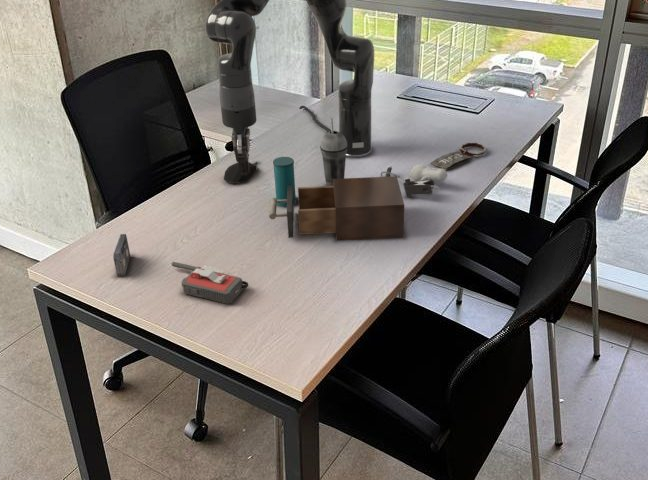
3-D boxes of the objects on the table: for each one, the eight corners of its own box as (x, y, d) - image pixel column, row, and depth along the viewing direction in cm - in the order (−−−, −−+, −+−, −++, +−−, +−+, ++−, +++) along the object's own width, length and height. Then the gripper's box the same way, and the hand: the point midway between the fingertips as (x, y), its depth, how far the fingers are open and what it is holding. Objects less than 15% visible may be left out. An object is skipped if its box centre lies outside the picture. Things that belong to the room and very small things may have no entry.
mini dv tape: (123, 256, 167) (119, 234, 164) (130, 256, 167) (125, 233, 164) (117, 276, 160) (112, 253, 157) (124, 276, 160) (119, 253, 157)
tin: (275, 207, 186) (272, 165, 180) (276, 197, 190) (273, 157, 184) (296, 206, 186) (293, 164, 180) (296, 196, 190) (293, 156, 184)
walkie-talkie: (254, 284, 156) (175, 266, 163) (252, 267, 154) (172, 249, 161) (234, 307, 150) (152, 287, 156) (231, 289, 147) (149, 270, 154)
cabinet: (336, 240, 171) (335, 207, 166) (333, 210, 184) (332, 178, 179) (403, 237, 171) (404, 204, 167) (396, 207, 184) (396, 176, 179)
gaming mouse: (266, 165, 207) (265, 152, 205) (239, 187, 196) (238, 173, 194) (247, 161, 209) (246, 148, 207) (219, 183, 198) (218, 169, 196)
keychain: (426, 163, 205) (426, 157, 204) (471, 144, 216) (471, 138, 215) (447, 172, 200) (447, 166, 199) (491, 152, 211) (492, 146, 210)
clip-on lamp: (373, 196, 196) (430, 200, 184) (368, 175, 193) (425, 178, 181) (397, 176, 203) (453, 179, 192) (392, 155, 200) (448, 157, 189)
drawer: (270, 238, 171) (267, 212, 167) (271, 210, 182) (269, 186, 179) (350, 235, 171) (350, 209, 168) (347, 207, 183) (346, 182, 179)
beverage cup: (352, 182, 197) (351, 111, 186) (343, 194, 191) (342, 122, 180) (326, 178, 199) (324, 109, 188) (317, 190, 193) (314, 119, 182)
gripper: (223, 93, 165) (230, 162, 175) (217, 114, 154) (226, 187, 163) (256, 91, 166) (262, 161, 175) (253, 113, 154) (259, 186, 164)
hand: (244, 174), depth 169 cm, fingers closed
